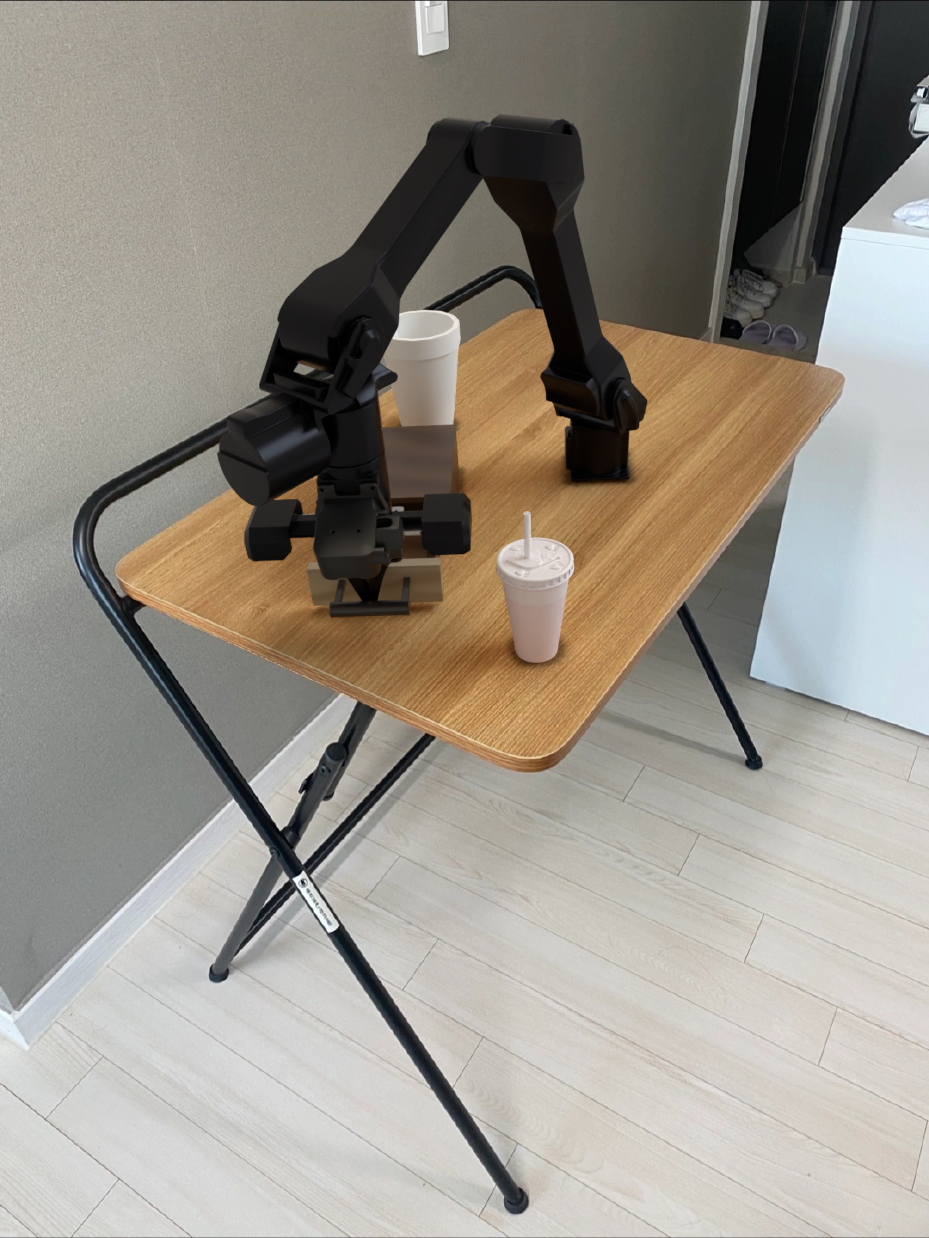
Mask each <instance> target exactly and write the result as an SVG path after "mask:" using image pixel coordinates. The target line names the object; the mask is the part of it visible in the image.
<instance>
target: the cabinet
mask: <svg viewBox="0 0 929 1238" xmlns="http://www.w3.org/2000/svg"><path fill="white" fill-rule="evenodd" d="M456 425H457V424H456V423H455V424H454V423H453V424H450V425H427V426H405V427H402V426H388V427H387V426H385V427H383V426H382V428H383V437H384V445H385V453H386V461H387V469H388V478H389V486H390V494H391V502H392V504H399V503H424V495H425V494H445V493H459V492H458V491H459V477H460V476H459V475H460V467H459V451H458V440H457V439H458V438H457V426H456ZM317 500H318V494H316V499H315V506H316V505H317Z"/></svg>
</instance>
